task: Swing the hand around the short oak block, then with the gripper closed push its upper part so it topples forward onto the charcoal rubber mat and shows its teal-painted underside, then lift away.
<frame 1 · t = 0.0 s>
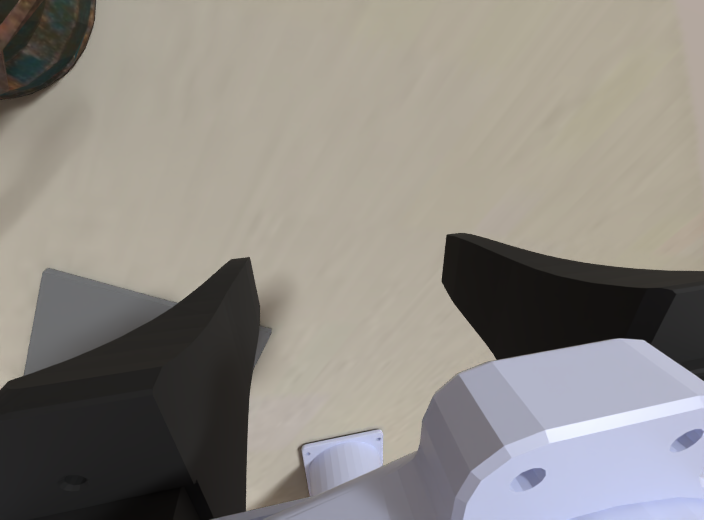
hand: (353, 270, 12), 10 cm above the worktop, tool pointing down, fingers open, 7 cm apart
mat: (133, 411, 26), on the worktop
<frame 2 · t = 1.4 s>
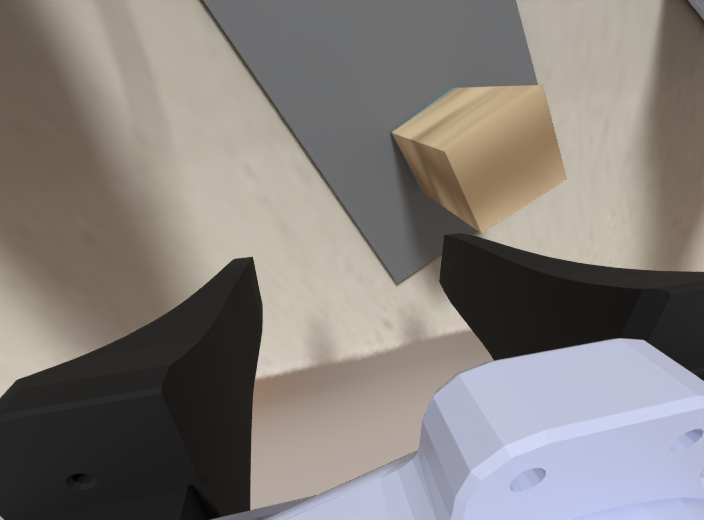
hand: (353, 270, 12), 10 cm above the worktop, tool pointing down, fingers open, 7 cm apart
oak block: (436, 142, 20), resting on mat
mat: (408, 89, 19), on the worktop
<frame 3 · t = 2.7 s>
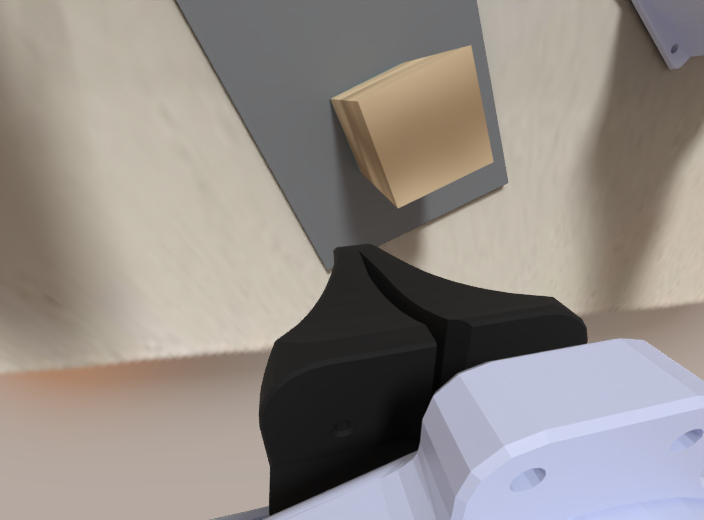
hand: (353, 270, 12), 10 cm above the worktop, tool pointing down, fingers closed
oak block: (379, 120, 19), resting on mat
mat: (354, 56, 18), on the worktop
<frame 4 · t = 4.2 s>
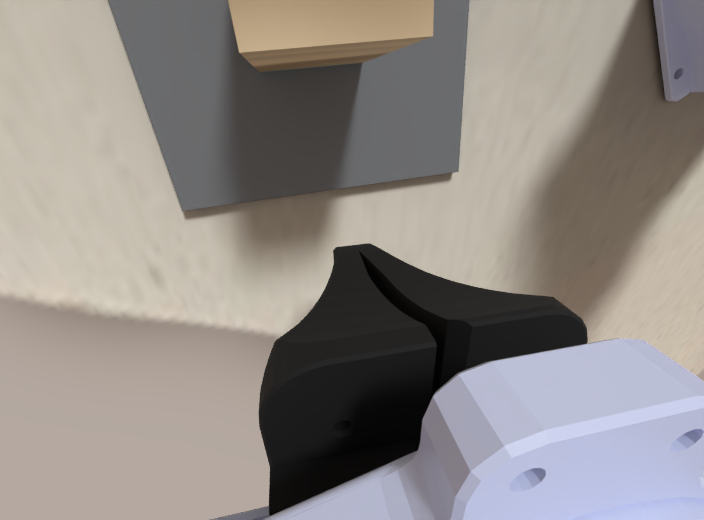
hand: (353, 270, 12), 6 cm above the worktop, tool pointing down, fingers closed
oak block: (303, 2, 13), resting on mat
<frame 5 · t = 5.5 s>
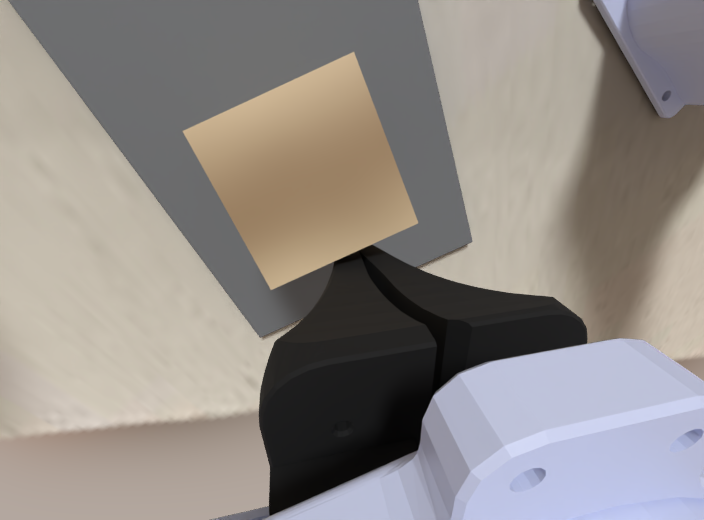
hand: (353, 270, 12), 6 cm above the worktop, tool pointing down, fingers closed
oak block: (312, 175, 15), point 1 cm above the worktop, tilted 13°, touching mat
mat: (278, 100, 15), on the worktop
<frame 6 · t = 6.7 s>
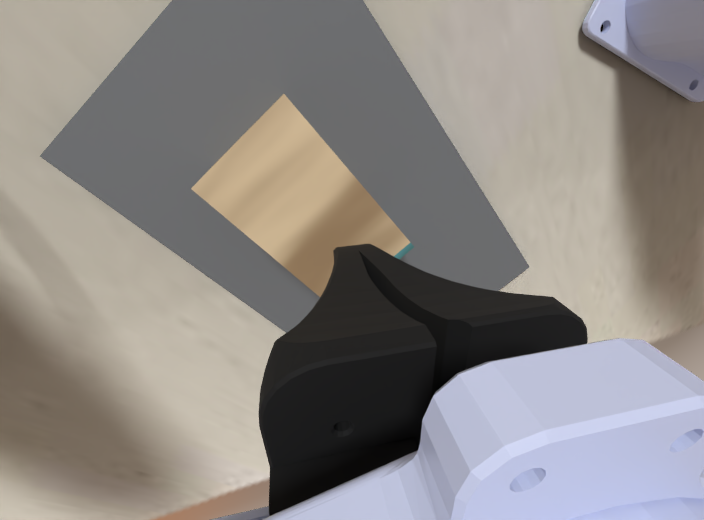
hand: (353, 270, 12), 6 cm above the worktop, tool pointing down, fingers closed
oak block: (363, 257, 16), point 3 cm above the worktop, tilted 90°, touching mat
mat: (338, 220, 18), on the worktop
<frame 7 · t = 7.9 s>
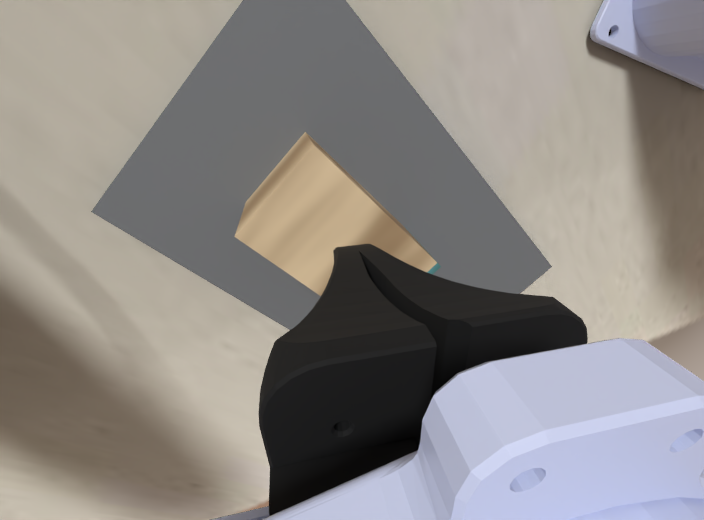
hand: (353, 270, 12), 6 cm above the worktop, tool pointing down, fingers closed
oak block: (391, 276, 17), point 3 cm above the worktop, tilted 90°, touching mat
mat: (362, 240, 19), on the worktop
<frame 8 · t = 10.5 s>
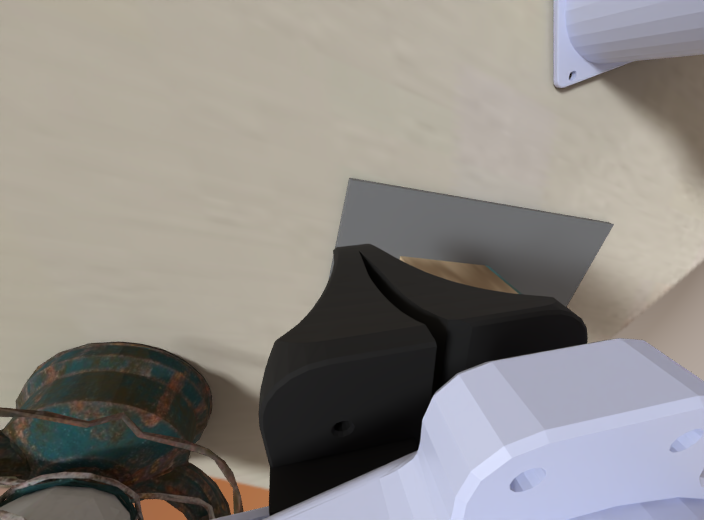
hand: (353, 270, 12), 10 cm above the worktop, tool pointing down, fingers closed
lantern: (130, 396, 25), on the worktop
oak block: (493, 304, 25), point 3 cm above the worktop, tilted 90°, touching mat
mat: (461, 285, 27), on the worktop
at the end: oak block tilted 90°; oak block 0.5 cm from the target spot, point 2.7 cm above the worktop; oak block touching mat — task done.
